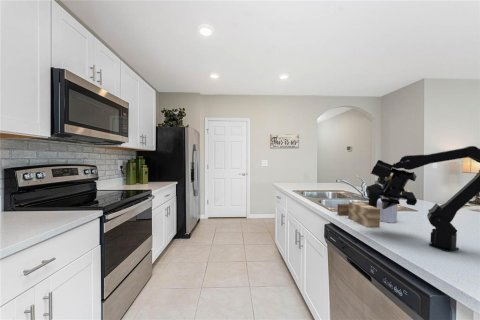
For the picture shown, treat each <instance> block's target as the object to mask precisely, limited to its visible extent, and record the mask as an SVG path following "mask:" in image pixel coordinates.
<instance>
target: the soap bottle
mask: <svg viewBox="0 0 480 320" xmlns="http://www.w3.org/2000/svg"><path fill="white" fill-rule="evenodd" d="M391 177H392V174H390V176H389V178H390V179H391ZM377 208H379V209H380V222H382V223H383V222H384V223H390V224H391V223H393V224H394V223H397V222H398V204H396V205H393V206H391V207H388V208H386V209H382V201H381V199H378V200H377Z"/></svg>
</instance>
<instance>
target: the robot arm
mask: <svg viewBox="0 0 480 320" xmlns="http://www.w3.org/2000/svg"><path fill="white" fill-rule="evenodd" d="M465 158H469V159H471V160H472V161H475V162H477V163H479V164H480V148H479V147H477V146H474V145H469V146H464V147H461V148H456V149H451V150H450V149H449V150H446V151H438V152H433V153H428V154H414V155H413V154H412V155H410V154H408V155H404V156H402V157H400V159H399V161H397V162H394V163H393V164H391V163H388V162H384V161H383V160H380V159H378V160H377V161H376V163H375V165H374V166H373V168H372V170H371V172H370V174H371V175H374V176H376V177H377V179H376V180H377V182H378V183H379V185H381V186H383V187H382V188H383V189H384V191H380V190H378V188H377V187H373V186H371V185H368V186H366V188H365V192H366V193H365V194H366V196H367V198H368V200H369V199H375V200H376V199H379V196H380V199H381V201H382V209H386V208H388V207H391V206H393V205H396V204H397V205H400V204H401V202H400V200H403V201H405V200H406V201H405V203H406V205H408V206H416V204H417V203H418V200H417V198H416V195H415V194H414V192H412V191H405V188H406V187H405V186H406V185H407V183H408V182H409V181H412V182H416V179H417V174H415V171H412V172H411V170H414V169H418V168H420V167H424V166H427V165H429V164H430V165H431V164H434V163H441V162H449V161H453V160H459V159H465ZM406 170H407V171H406ZM390 175H391V176H392V177H391V179H390V178H389V176H390ZM479 193H480V169H479V170H478V172H477V173H476V175H475V176H474V177H473V178H472V179H470V180H469V182H467V183H466V184H465V185H464V186H463V187H461V189H459V190H458V191H457V192H456V193H455V194H454V195H453V196H452V197H450V199H448V200H447V201H446V202H444V203H443V204H441V205H439V204H438V203H434V204H433V206H432V208H430V209H428V210H427V212H428V213H427V214H426V216H427V220H428V222H429V224H430V225H431V226H432V227H434V228H432V229H431V232H430V241H429V242H430V243H428V245H429V247H430V246H431V247H434V248H437V249H440V250H443V251H446V252H453V251H458V250H459V249H460V248H459V247H457V237H458V235H457V233H458V230H457V229H456V227H455V226H454V225H453V224H452V223H451V222H452V221H453V220H454V218H455V217H456V215H457V213H458V212H459V211H460V209H462V208H463V207H464V206H465V205H467V203H469V202H471V200H473V198H475V197H476V196H477V195H478V194H479Z"/></svg>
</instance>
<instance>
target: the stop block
mask: <svg viewBox="0 0 480 320" xmlns="http://www.w3.org/2000/svg"><path fill="white" fill-rule="evenodd" d="M336 209H337V213H336V214H337V215H338V216H339V217H341V216H342V217H344V216H347V217H348V213H349V203H338V204H337V208H336Z"/></svg>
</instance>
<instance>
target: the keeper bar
mask: <svg viewBox="0 0 480 320" xmlns="http://www.w3.org/2000/svg"><path fill="white" fill-rule="evenodd" d="M348 204H349V213H348V216H347V217H348V219H349V220H351V221H354V222H355V223H357V224H360V225H361V226H363V227H366V228H368V229H370V228H380V225H381V224H380V223H381V221H380V209H379V208H376V207H373V206H370V205H369V204H366V203H363V202H360V201H349V202H348Z"/></svg>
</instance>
